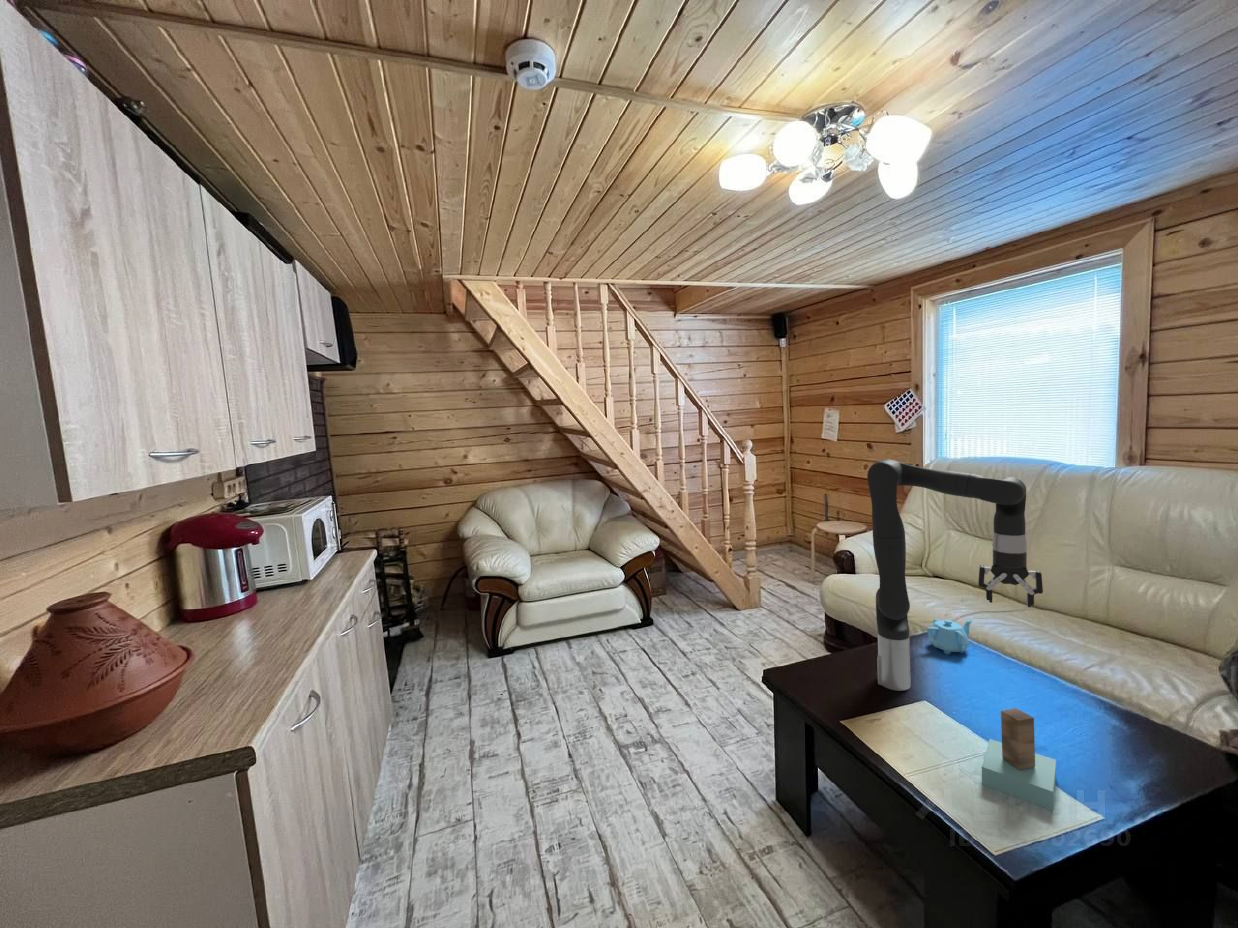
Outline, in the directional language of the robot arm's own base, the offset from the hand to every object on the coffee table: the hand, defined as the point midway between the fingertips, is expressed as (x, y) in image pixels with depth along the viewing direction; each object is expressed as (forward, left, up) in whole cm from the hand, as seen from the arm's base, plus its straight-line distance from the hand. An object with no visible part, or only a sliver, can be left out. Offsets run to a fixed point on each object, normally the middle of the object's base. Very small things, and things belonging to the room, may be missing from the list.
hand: (1009, 604), depth 141 cm
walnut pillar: (0, -29, -29) cm, 41 cm away
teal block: (0, -29, -35) cm, 45 cm away
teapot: (-15, +40, -34) cm, 55 cm away
